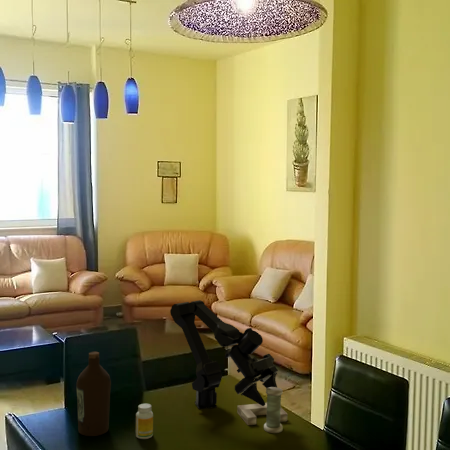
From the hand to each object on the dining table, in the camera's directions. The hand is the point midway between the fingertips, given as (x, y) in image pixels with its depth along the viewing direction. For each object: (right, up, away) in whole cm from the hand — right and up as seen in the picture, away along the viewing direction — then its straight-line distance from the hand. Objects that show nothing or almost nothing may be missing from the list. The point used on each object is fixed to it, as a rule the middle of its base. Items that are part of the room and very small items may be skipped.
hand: (271, 401), depth 193 cm
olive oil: (-57, -8, -3) cm, 58 cm away
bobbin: (0, -9, 0) cm, 9 cm away
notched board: (-3, -8, +10) cm, 14 cm away
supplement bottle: (-40, -9, -7) cm, 42 cm away
